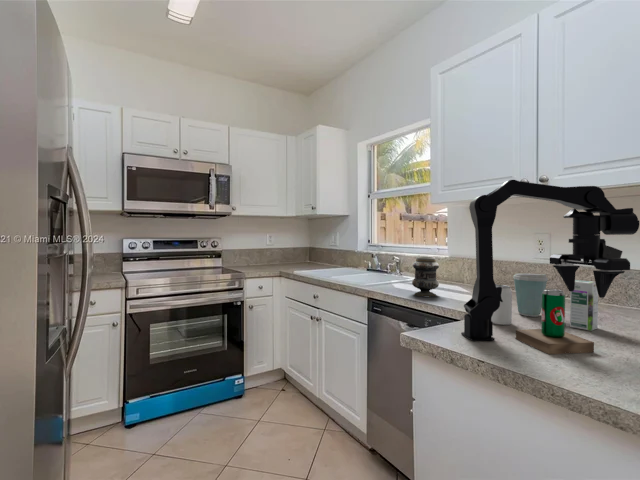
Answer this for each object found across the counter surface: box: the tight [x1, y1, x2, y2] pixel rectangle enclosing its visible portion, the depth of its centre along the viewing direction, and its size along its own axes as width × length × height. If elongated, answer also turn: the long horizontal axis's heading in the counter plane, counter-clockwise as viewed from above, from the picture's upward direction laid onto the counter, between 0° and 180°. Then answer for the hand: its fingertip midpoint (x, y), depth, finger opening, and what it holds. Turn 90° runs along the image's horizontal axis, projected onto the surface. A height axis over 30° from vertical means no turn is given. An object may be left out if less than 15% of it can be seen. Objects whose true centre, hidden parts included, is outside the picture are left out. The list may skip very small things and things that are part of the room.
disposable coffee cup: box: [513, 273, 549, 318], centre depth 122 cm, size 11×11×15 cm
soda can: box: [540, 288, 566, 338], centre depth 89 cm, size 5×5×12 cm
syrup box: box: [569, 279, 599, 332], centre depth 105 cm, size 6×6×14 cm
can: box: [491, 284, 513, 326], centre depth 111 cm, size 6×6×12 cm
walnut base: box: [515, 328, 595, 355], centre depth 89 cm, size 12×12×2 cm
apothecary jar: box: [411, 255, 440, 298], centre depth 159 cm, size 12×12×18 cm
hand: (585, 294), depth 90 cm, fingers open, 9 cm apart
